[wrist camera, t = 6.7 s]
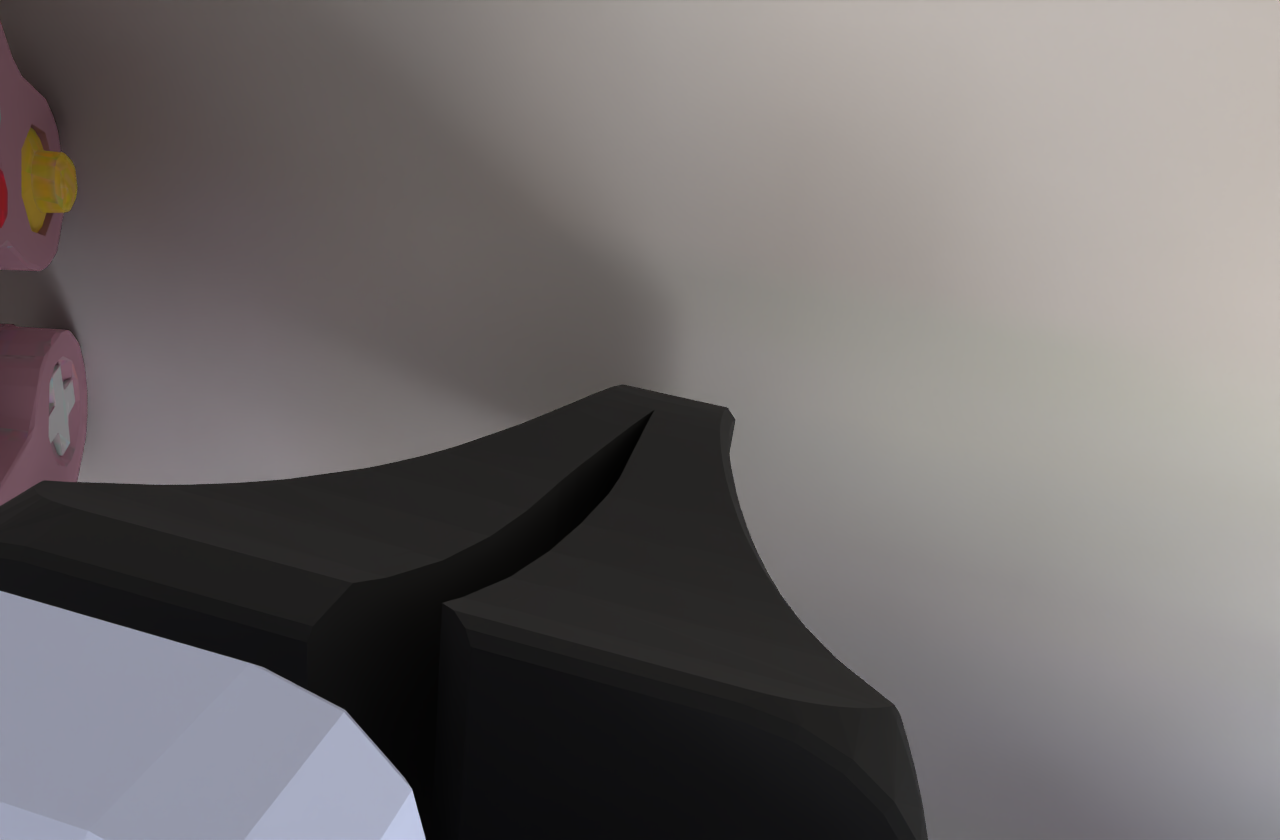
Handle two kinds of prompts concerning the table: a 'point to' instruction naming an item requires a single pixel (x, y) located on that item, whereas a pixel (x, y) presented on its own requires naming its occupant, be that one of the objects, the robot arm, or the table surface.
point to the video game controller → (28, 240)
